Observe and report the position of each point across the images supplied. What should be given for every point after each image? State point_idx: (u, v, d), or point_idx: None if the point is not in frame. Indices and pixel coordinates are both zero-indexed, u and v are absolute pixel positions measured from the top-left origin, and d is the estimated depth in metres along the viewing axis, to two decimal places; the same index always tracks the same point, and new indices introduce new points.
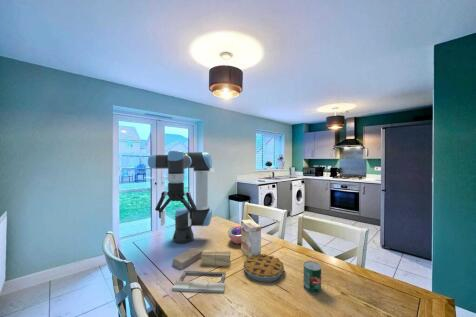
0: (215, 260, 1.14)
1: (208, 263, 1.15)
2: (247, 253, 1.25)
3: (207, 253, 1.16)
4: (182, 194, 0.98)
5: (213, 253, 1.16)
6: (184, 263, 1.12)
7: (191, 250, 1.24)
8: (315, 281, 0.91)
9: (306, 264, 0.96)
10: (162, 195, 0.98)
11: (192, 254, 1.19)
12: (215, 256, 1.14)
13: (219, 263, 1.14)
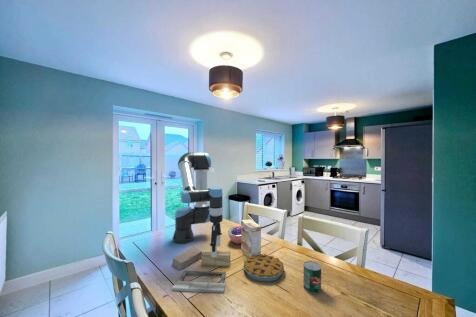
0: (215, 260, 1.14)
1: (208, 263, 1.15)
2: (247, 253, 1.25)
3: (207, 253, 1.16)
4: None
5: None
6: (183, 263, 1.12)
7: (191, 250, 1.24)
8: (315, 281, 0.91)
9: (306, 264, 0.96)
10: None
11: (192, 254, 1.19)
12: None
13: (219, 263, 1.14)
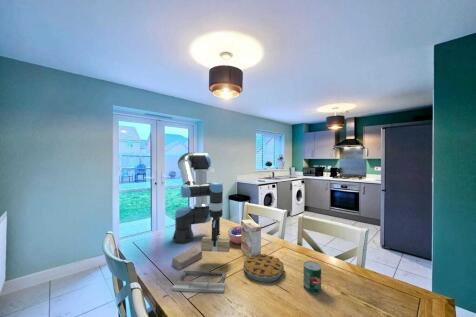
0: None
1: (208, 249, 1.15)
2: (247, 253, 1.25)
3: (207, 239, 1.16)
4: (213, 221, 1.13)
5: None
6: (183, 263, 1.12)
7: (191, 250, 1.24)
8: (315, 281, 0.91)
9: (306, 264, 0.96)
10: None
11: (192, 254, 1.19)
12: None
13: (219, 249, 1.15)
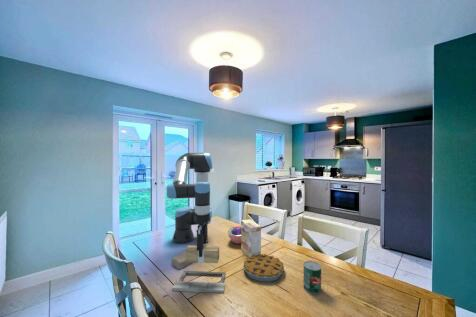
0: None
1: (193, 260, 0.99)
2: (247, 253, 1.25)
3: (192, 248, 1.00)
4: (198, 227, 0.97)
5: None
6: (182, 263, 1.12)
7: None
8: (315, 281, 0.91)
9: (306, 264, 0.96)
10: None
11: None
12: None
13: (206, 260, 0.98)
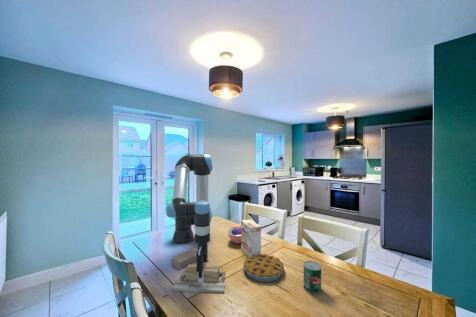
0: None
1: (193, 280, 0.99)
2: (247, 253, 1.25)
3: (192, 268, 1.00)
4: None
5: None
6: (182, 263, 1.12)
7: (191, 250, 1.23)
8: (315, 281, 0.91)
9: (306, 264, 0.96)
10: None
11: (191, 254, 1.19)
12: None
13: (206, 281, 0.98)
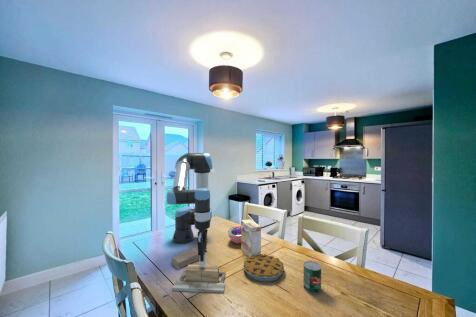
0: (201, 277, 0.99)
1: (193, 280, 0.99)
2: (247, 253, 1.25)
3: (192, 268, 1.00)
4: (198, 234, 0.97)
5: (199, 268, 1.00)
6: (181, 263, 1.12)
7: (192, 250, 1.23)
8: (315, 281, 0.91)
9: (306, 264, 0.96)
10: None
11: (191, 254, 1.19)
12: (201, 272, 0.99)
13: (206, 280, 0.98)
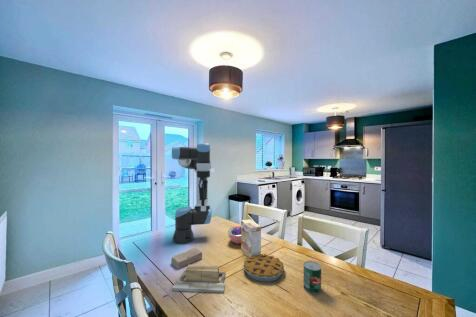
0: (201, 277, 0.99)
1: (193, 280, 0.99)
2: (247, 253, 1.25)
3: (192, 268, 1.00)
4: (200, 181, 1.13)
5: (199, 268, 1.00)
6: (181, 263, 1.12)
7: (192, 250, 1.23)
8: (315, 281, 0.91)
9: (306, 264, 0.96)
10: None
11: (191, 254, 1.19)
12: (201, 272, 0.99)
13: (206, 280, 0.98)
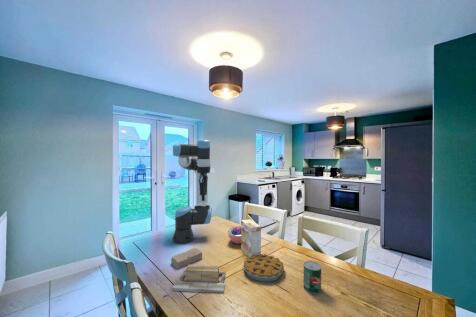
0: (201, 277, 0.99)
1: (193, 280, 0.99)
2: (247, 253, 1.25)
3: (192, 268, 1.00)
4: (200, 177, 1.16)
5: (199, 268, 1.00)
6: (180, 263, 1.12)
7: (192, 250, 1.23)
8: (315, 281, 0.91)
9: (306, 264, 0.96)
10: None
11: (191, 254, 1.18)
12: (201, 272, 0.99)
13: (206, 280, 0.98)
